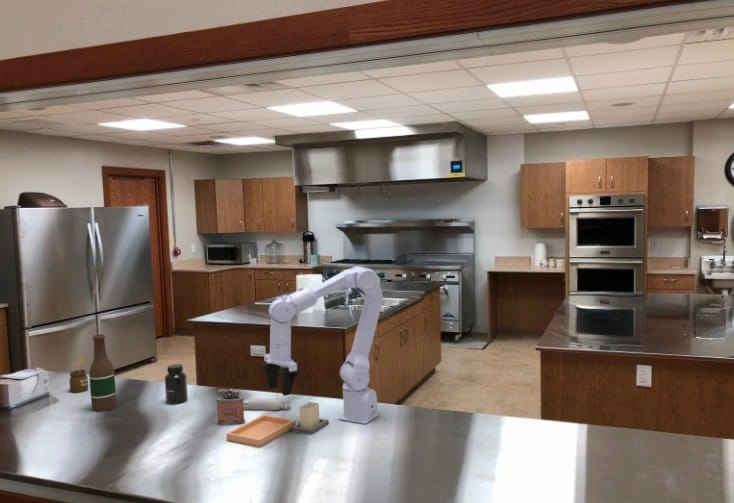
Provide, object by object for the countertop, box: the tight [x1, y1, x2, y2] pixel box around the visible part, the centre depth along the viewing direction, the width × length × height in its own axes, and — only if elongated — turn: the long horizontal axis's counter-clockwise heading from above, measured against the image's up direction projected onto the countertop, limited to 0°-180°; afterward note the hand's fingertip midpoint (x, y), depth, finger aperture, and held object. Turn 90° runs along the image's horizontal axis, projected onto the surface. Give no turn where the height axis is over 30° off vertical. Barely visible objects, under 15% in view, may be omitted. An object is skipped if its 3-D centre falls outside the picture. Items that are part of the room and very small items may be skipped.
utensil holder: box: [68, 355, 89, 394], centre depth 212 cm, size 6×6×12 cm
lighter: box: [215, 388, 246, 426], centre depth 173 cm, size 8×3×10 cm, turn 84°
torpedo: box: [243, 395, 291, 411], centre depth 184 cm, size 18×5×6 cm, turn 80°
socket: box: [291, 418, 329, 436], centre depth 166 cm, size 7×9×1 cm
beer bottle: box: [88, 333, 117, 412], centre depth 191 cm, size 8×8×24 cm
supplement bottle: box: [164, 363, 188, 405], centre depth 195 cm, size 7×7×12 cm
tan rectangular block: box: [299, 401, 321, 429], centre depth 166 cm, size 3×5×6 cm, turn 150°
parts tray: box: [225, 414, 297, 448], centre depth 164 cm, size 12×16×2 cm
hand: (279, 391), depth 165 cm, fingers open, 7 cm apart
